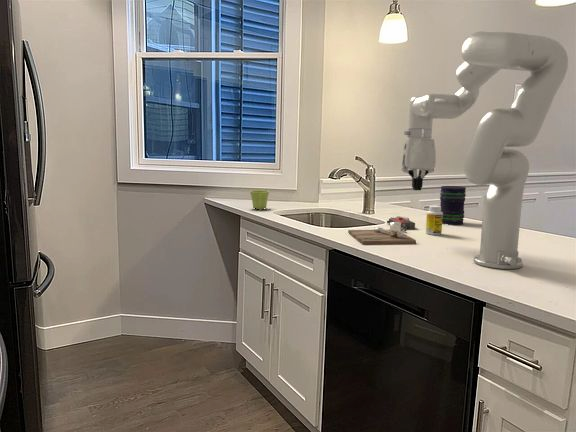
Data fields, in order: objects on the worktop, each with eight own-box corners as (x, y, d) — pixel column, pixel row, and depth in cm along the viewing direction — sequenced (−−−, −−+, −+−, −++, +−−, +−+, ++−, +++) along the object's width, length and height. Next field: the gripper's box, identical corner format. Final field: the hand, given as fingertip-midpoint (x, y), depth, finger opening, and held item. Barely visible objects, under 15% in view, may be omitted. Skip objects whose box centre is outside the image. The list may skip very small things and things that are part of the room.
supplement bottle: (434, 236, 175) (436, 207, 173) (422, 233, 179) (423, 205, 178) (444, 234, 178) (446, 206, 176) (432, 232, 182) (434, 204, 181)
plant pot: (247, 208, 238) (247, 190, 237) (266, 207, 241) (266, 189, 239) (252, 210, 229) (252, 192, 228) (271, 210, 232) (271, 192, 231)
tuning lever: (405, 237, 165) (406, 224, 164) (397, 237, 163) (398, 224, 162) (380, 229, 177) (380, 217, 176) (371, 230, 175) (372, 218, 175)
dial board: (415, 243, 161) (416, 239, 161) (362, 244, 159) (362, 240, 159) (396, 232, 180) (396, 228, 180) (348, 233, 178) (348, 229, 177)
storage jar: (468, 224, 199) (471, 187, 197) (449, 225, 196) (451, 188, 194) (452, 220, 209) (454, 185, 206) (433, 221, 205) (435, 186, 203)
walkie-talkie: (381, 224, 199) (402, 234, 179) (382, 214, 198) (403, 222, 178) (402, 224, 200) (425, 233, 181) (402, 213, 200) (425, 221, 180)
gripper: (402, 134, 158) (399, 191, 161) (446, 135, 160) (442, 191, 163) (394, 134, 165) (391, 188, 168) (436, 135, 167) (433, 188, 170)
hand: (416, 189), depth 165 cm, fingers closed
